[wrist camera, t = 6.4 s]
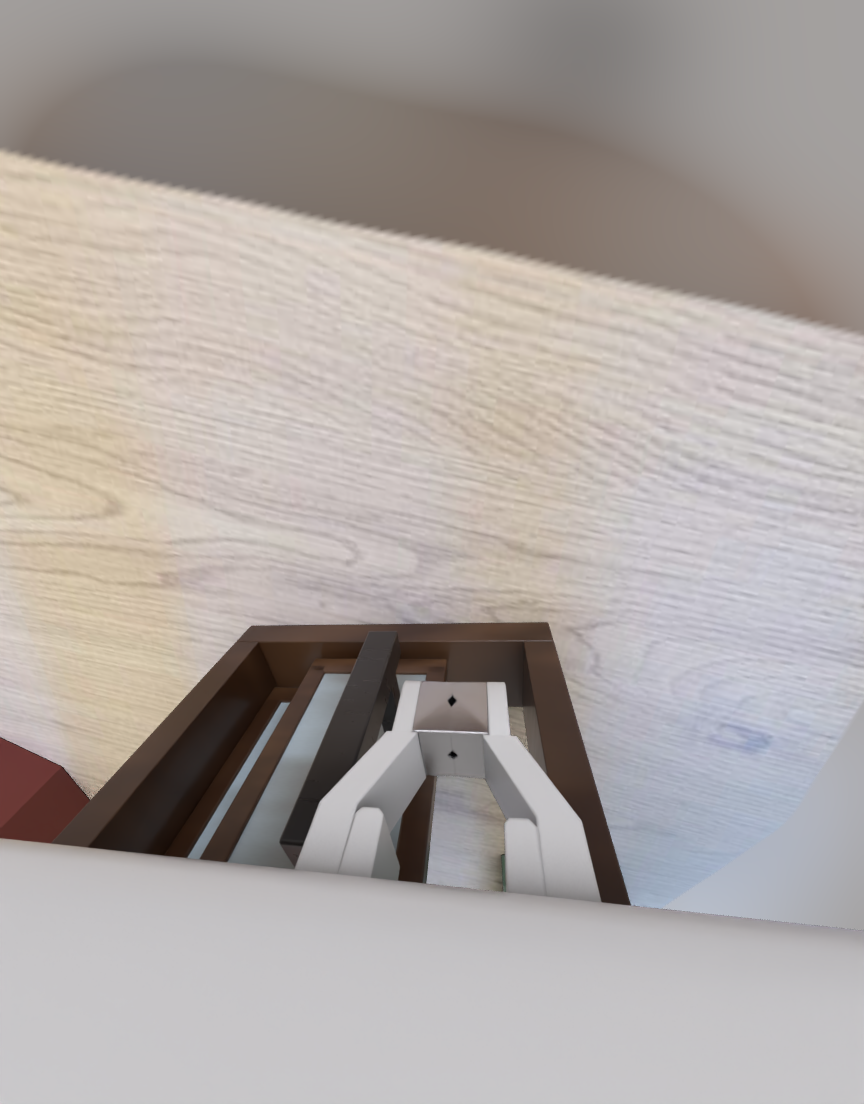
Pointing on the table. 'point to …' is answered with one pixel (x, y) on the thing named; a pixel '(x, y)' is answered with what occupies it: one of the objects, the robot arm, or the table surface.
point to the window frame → (264, 694)
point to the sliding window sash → (328, 760)
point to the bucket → (35, 796)
